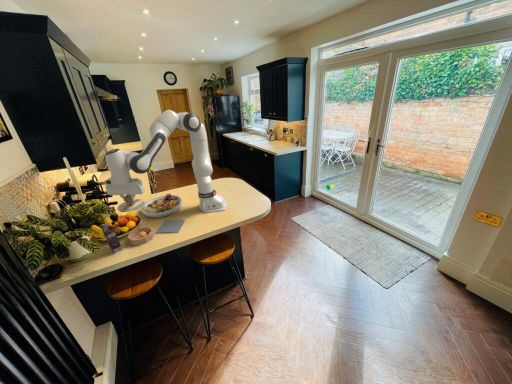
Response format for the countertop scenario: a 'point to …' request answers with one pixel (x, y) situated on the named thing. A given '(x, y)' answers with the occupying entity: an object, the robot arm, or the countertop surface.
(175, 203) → the bowl
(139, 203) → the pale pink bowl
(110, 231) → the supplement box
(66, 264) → the countertop surface
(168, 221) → the mat
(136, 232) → the bowl
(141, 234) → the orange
